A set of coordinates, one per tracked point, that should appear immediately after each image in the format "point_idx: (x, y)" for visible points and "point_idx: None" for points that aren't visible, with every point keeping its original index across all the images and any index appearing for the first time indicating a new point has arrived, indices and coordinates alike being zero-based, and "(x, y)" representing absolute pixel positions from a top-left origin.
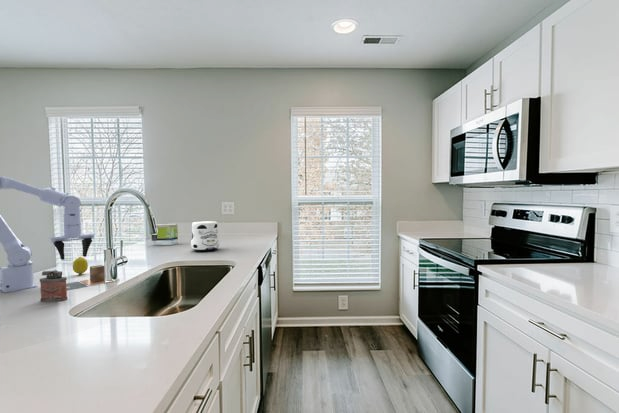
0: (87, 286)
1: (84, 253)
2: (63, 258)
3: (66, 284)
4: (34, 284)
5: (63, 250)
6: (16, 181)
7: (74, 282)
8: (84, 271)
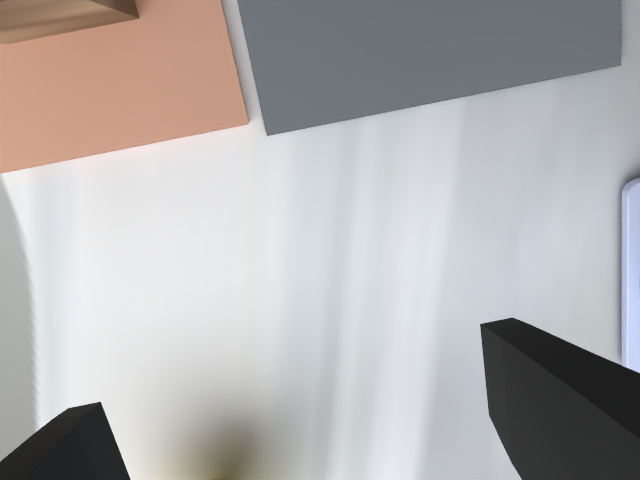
0: None
1: (72, 464)
2: (506, 327)
3: (386, 59)
4: (634, 265)
5: (631, 421)
6: None
7: (304, 108)
8: None
